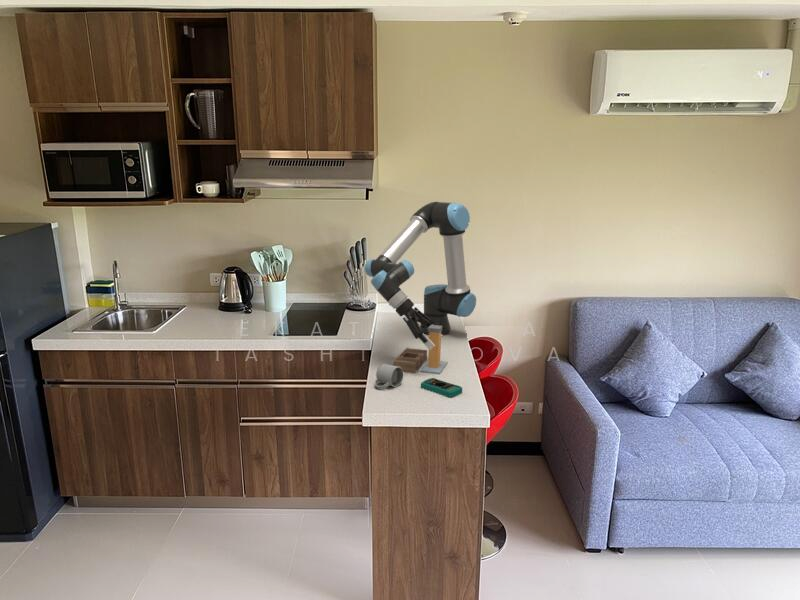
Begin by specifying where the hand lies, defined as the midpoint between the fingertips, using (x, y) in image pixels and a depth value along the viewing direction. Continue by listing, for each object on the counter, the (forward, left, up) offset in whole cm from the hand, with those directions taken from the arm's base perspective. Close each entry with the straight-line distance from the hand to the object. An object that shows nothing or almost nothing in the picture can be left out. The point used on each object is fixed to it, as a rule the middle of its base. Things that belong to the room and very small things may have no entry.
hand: (436, 342), depth 242 cm
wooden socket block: (0, -11, -11) cm, 15 cm away
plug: (0, -1, -10) cm, 10 cm away
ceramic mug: (+25, -12, -11) cm, 30 cm away
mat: (0, -1, -11) cm, 11 cm away
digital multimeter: (+23, +8, -11) cm, 27 cm away
